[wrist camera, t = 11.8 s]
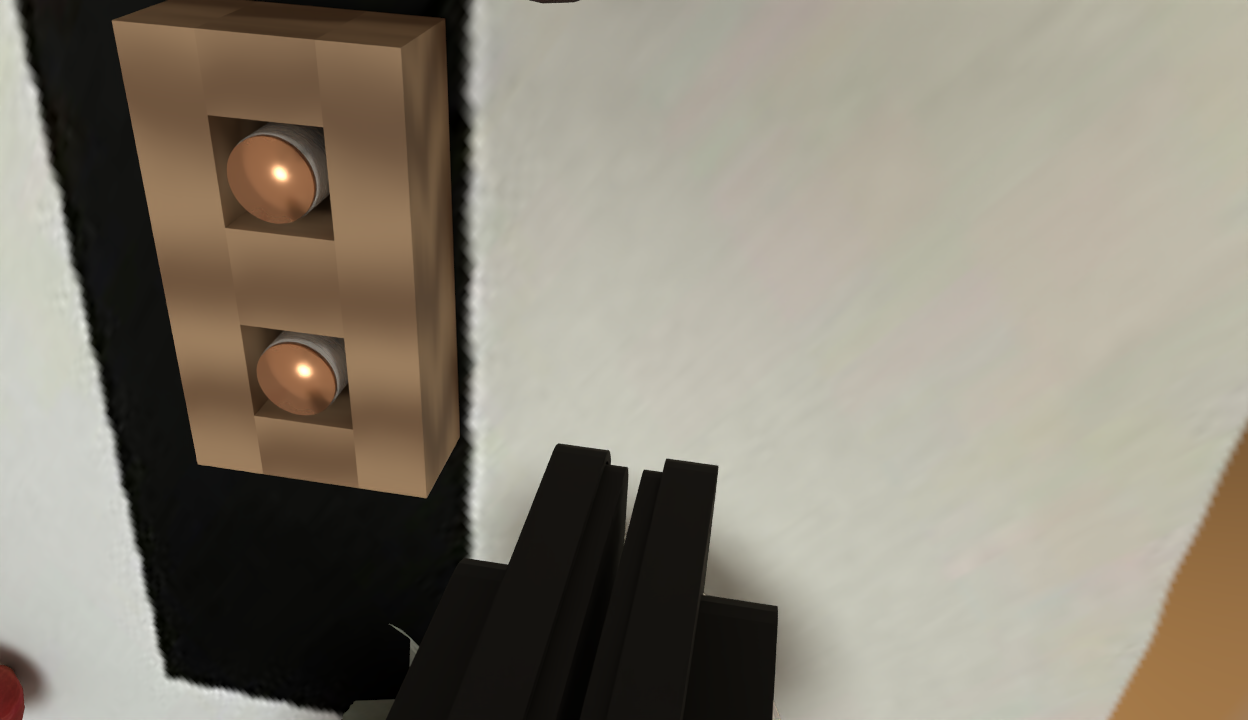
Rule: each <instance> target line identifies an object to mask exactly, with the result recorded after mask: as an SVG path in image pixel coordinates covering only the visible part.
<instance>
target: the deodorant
mask: <svg viewBox="0 0 1248 720" xmlns="http://www.w3.org/2000/svg"><path fill="white" fill-rule="evenodd" d="M531 1H535V2H539V3H568V2H576V1H579V0H531Z"/></svg>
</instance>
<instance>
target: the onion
mask: <svg viewBox="0 0 1248 720" xmlns="http://www.w3.org/2000/svg"><path fill="white" fill-rule="evenodd" d="M24 709H25V705H24V695H23V688H22V686H21V684H20V682H19V680H18V678H17V676H16V675H15V673H14V671H13V670H12V669H11V668H10V667H8V666H5V665H0V720H22V718H23V713H24Z"/></svg>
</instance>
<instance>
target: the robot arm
mask: <svg viewBox="0 0 1248 720" xmlns="http://www.w3.org/2000/svg"><path fill="white" fill-rule="evenodd" d="M717 476H718V466H716V465H709V464H702V463H695V462H688V461H681V460H673V459H666V461H665V465H664V469H663V472H657V471H650V470H644V471H643V473H642V477H641V481H640V485H639V489H638V493H637V497H636V500H635V504H634V508H633V512H632V516H631V520H630V524H629V528H628V532H627V536H626V540H625V543H624V536H625V520H626V505H627V490H628V467H622V466H615V465H611V456H610V451H609V450H602V449H594V448H587V447H580V446H573V445H566V444H557V445H556V446H555V448H554V450H553V453H552V455H551V458H550V460H549V463H548V465H547V468H546V471H545V473H544V476H543V478H542V481H541V483H540V486H539V488H538V491H537V493H536V496H535V498H534V501H533V504H532V506H531V509H530V511H529V514H528V516H527V519H526V521H525V524H524V526H523V529H522V531H521V534H520V537H519V539H518V542H517V544H516V547H515V549H514V552H513V554H512V557H511V559H510V562H509V564H508V565H506V564H500V563H493V562H487V561H480V560H474V559H467V558H464V559H463V560H462V561H460V562H459V563H458V565H457V567H456V569H455V571H454V572H453V574H452V576H451V578H450V581H449V583H448V585H447V587H446V589H445V592H444V594H443V596H442V598H441V600H440V602H439V605H438V607H437V609H436V611H435V613H434V616H433V618H432V620H431V622H430V624H429V626H428V629H427V631H426V633H425V635H424V637H423V640H422V642H421V644H420V646H419V648H418V650H417V653H416V655H415V657H414V659H413V661H412V663H411V666H410V668H409V670H408V672H407V674H406V677H405V679H404V681H403V683H402V685H401V687H400V690H399V692H398V694H397V696H396V698H395V701H394V703H393V705H392V707H391V709H390V711H389V714H388V716H387V718H386V720H772V718H773V700H774V681H775V662H776V643H777V624H778V608H777V606H772V605H766V604H759V603H753V602H746V601H740V600H733V599H727V598H720V597H714V596H707V595H703V593H704V585H705V577H706V568H707V560H708V552H709V543H710V535H711V527H712V518H713V510H714V502H715V493H716V485H717Z"/></svg>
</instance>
